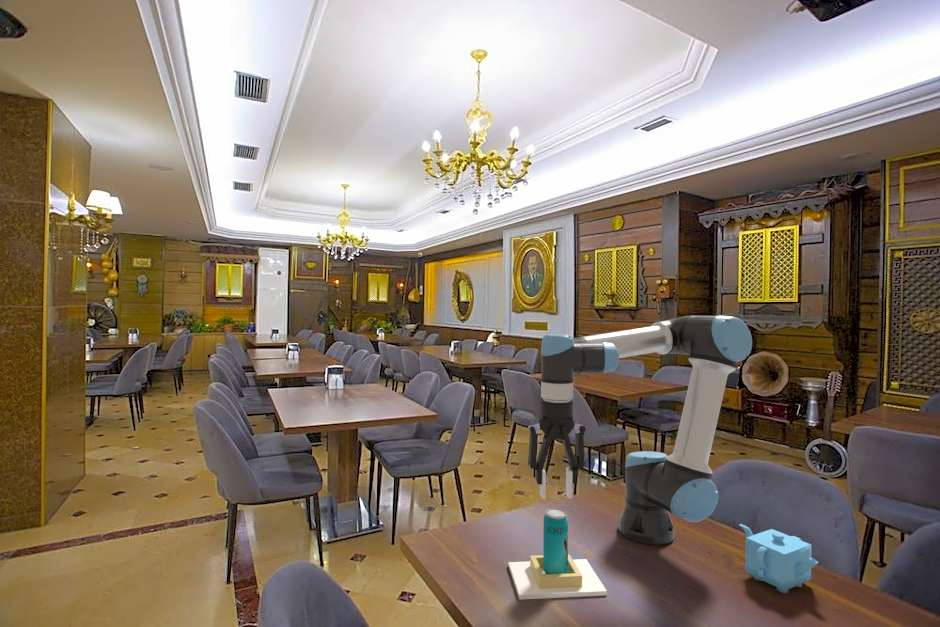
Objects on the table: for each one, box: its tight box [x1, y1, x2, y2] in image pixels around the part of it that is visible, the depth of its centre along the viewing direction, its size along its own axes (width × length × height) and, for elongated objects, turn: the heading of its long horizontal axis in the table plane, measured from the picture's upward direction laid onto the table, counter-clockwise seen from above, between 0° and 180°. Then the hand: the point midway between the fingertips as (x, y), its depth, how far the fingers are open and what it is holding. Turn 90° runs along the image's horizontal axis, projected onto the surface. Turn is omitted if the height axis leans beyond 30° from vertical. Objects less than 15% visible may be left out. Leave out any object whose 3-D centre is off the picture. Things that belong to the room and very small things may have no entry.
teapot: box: [738, 523, 819, 594], centre depth 115 cm, size 16×18×11 cm
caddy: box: [507, 553, 608, 601], centre depth 114 cm, size 20×14×4 cm
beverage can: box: [542, 508, 569, 575], centre depth 114 cm, size 6×6×15 cm
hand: (555, 496), depth 114 cm, fingers open, 6 cm apart
